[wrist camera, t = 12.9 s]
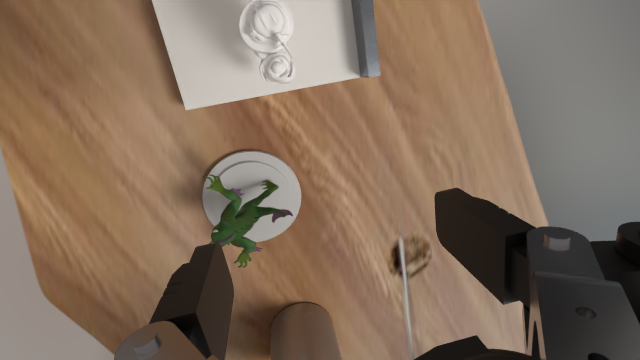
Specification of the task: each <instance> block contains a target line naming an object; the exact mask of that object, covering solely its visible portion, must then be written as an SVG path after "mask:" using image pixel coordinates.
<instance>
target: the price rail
mask: <svg viewBox="0 0 640 360" xmlns="http://www.w3.org/2000/svg"><path fill="white" fill-rule="evenodd" d="M351 3H352V11H353V20H354V28H355V36H356V44H357V52H358V60H359V69H360V77H374V76H379V75H380V67H379V57H378V48H377V38H376V28H375V18H374V8H373V0H351Z"/></svg>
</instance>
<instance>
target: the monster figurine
mask: <svg viewBox="0 0 640 360" xmlns="http://www.w3.org/2000/svg"><path fill="white" fill-rule="evenodd" d="M204 178H206V181H205V183H204V187H203V194H202V200H203V207H204V210H205V213H206V215H207V217H208V219H209V220H210V222H211V223H212V224H213V225H214V226H215V227H214V229H213V230H212V234H211V239H212V242H213V243H215V242H219V243H220V245H221V247H222V246H224V245H226V244H228V245H229V243H231V244H232V245H234V246H237V247H243V248H244V250H243V251H242V253H241V254H240V255H239V257H238V259H237V260H236V261H235V262H234V263H237V262H240V263H241V265H240V266H238V267H242V266H243V262H244V263H245V266H244V267H246V266H247V260H248V259H250V260H249V261H251V258H250V257H249V255H248V253H251V252H255V251H260V250H259V249H262V248H257V247H256V243H255V242H260V241H265V240H268V239H271V238H274V237H276V236H277V235H279V234H281V233H282V232H284V231H285V230H286V229H287V228H288V227H289V226H290V225H291V224H292V223H293V221H294V220H295V218H296V216H297V214H298V212H299V209H300V204H301V190H300V185H299V182H298V179H297V177H296V175H295V173H294V172H293V170H292V169H291V168H290V167H289V165H288V164H286V163H285V162H284V161H283V160H282V159H280V158H278V157H277V156H275V155H272V154H270V153H267V152H263V151H256V150H247V151H241V152H237V153H234V154H231V155H229V156H227V157H225V158H224V159H222V160H221V161H220V162H218V163H217V164H216V165H215V167H214V168H213V169H212V170H211V172H210V173H209V175H208V177H205V176H204ZM212 242H210V243H209V244H211V243H212Z"/></svg>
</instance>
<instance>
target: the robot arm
mask: <svg viewBox="0 0 640 360" xmlns="http://www.w3.org/2000/svg"><path fill="white" fill-rule="evenodd" d="M435 217H436V232H437V236H438V239H439V241H440V243H441V244H442V246H443V247H444V248H445V249H446V250H447V251H448V252H450V253H451V254H452V255H453V256H454V257H455V258H456V259H457V260H458V261H459V262H460V263H461V264H462V265H463V266H464V267H465V268H466V269H467V270H468V271H469V272H470V273H471V274H472V275H473V276H474V277H475V278H476V279H477V280H478V281H479V282H480V283H482V284H483V285H484V286H485V287H486V288H487V289H488V290H489V291H490V292H491V293H492V294H493V295H494V296H495V297H496V298H497V299H498V300H499V301H500V302H501V303H502V304H503V305H504V304H508V303H512V302H515V301H519V300H520V301H521V302H522V303H523V310H522V316H523V331H524V346H525V354H523V353H519V352H515V351H509V350H501V349H487V348H486V346H485V345H484V344H483V343H482V341H481V340H480V339H479V338H478V336H477V335H476V336H472V337H468V338H465V339H461V340H458V341H454V342H450V343H447V344H443V345H440V346H436V347H435V348H433V349H431V350H430V351H428V352H426V353H424V354H423V355H421V356H419V357H418V358H416V359H414V360H640V222H629V223H625V224H622V225H620V226H619V228H618V232H617V238H616V241H592V242H589V240H588V239H587V238H586V237H585V236H583V235H582V234H580V233H578V232H575V231H573V230H569V229H566V228H561V227H551V226H546V227H538V228H536V227H534V226H532V225H530V224H528V223H527V222H525V221H523V220H521V219H520V218H518V217H516V216H514V215H513V214H511V213H510V214H509V213H508V212H507V211H506V210H504V209H502V208H499V207H498V206H497V205H495V204H493V203H491V202H490V201H487V200H484V199H480V198H476V197H473V196H471V195H469V194H467V193H466V192H464V191H462V190H461V189H459V188H453V189H449V190H444V191H440V192H437V193H436V194H435ZM233 298H234V289H233V282H232V278H231V275H230V272H229V269H228V266H227V263H226V260H225V256H224V253H223V250H222V247H221V245H220V243H219V242H215V243H211V244H207V245H202V246H198V247H196V248H195V250H194V253H193V255H192V257H191V260H190V262H189V263H186V264H183V265H182V266H181V267H180V268H179V269H178V270H177V271H176V272H175V273H174V274H173V275H172V276H171V278H170V280H169V283H168V285H167V288H166V289H165V291H164V293H163V297H161V299H160V302H159V304H158V306H157V308H156V310H155V312H154V314H153V316H152V319H151V321H150V323H149V325H147V326H144V327H142V328H141V329H139V330H137V331H136V332H134V333H133V334H132V335H130V336H129V337H128V338H127V339H126V340H125V341H124V342H123V343H122V344H121V345H120V347H119V348H118V350H117V352H116V354H115V357H114V360H224V359H225V352H226V345H227V338H228V332H229V325H230V318H231V311H232V305H233ZM271 360H342V358H341V354H340V351H339V347H338V343H337V339H336V335H335V331H334V328H333V324H332V320H331V317H330V315H329V313H328V312H327V311H326V310H325V309H324V308H322V307H321V306H318V305H316V304H312V303H299V304H294V305H291V306H289V307H287V308H285V309H283V310H282V311H281V312H280V313H279V314H278V315H277V316H276V317H275V319H274V321H273V323H272V326H271Z"/></svg>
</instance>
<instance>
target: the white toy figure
mask: <svg viewBox="0 0 640 360" xmlns="http://www.w3.org/2000/svg"><path fill="white" fill-rule="evenodd" d="M239 28H240V33H241V36H242V38H243V40H244V41H245V42H246V44H247V45H248V46H250V47H251V48H252V49H254V50H256V51H257V55H258V56H259V57H260V58H261V62H260V66H259V71H260V74H261V76H262V78H263V79H264V80H266V78H267V79H268V80H270V81H272V83H273V82H278V83H273V84H287V83H290V82H291V81H292V80H293V79H294V76H295V65H294V63H293V60H292V58H293V56H292V54H291V53H290V50H289V49H288V47H287V46H288V43H287V41H288V40H289V38H290V37H291V35H292V33H293V29H294V20H293V15H292V12H291V10H290V8H289V7H288V5H287V4H286V3H285V2H284V1H283V0H251V1H250V2H249V3H248V4H247V5H246V7H245V9H244V10H243V12H242V14H241V17H240V21H239ZM284 48H285V49H286V51H287V52H288V54H287V53H286V52H282V51H281V50H283V49H284ZM289 54H290V55H289ZM293 59H294V58H293ZM291 61H292V62H291ZM263 66H264V73H263V70H262V67H263ZM266 81H267V80H266ZM267 82H269V81H267Z"/></svg>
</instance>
